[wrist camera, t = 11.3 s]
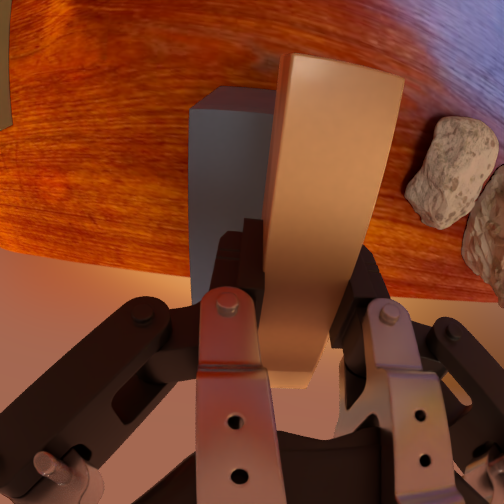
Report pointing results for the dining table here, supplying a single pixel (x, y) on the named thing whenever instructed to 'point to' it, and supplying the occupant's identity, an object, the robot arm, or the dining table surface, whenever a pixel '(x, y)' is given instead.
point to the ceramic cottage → (487, 236)
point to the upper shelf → (225, 171)
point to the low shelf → (4, 65)
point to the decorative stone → (453, 171)
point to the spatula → (318, 201)
